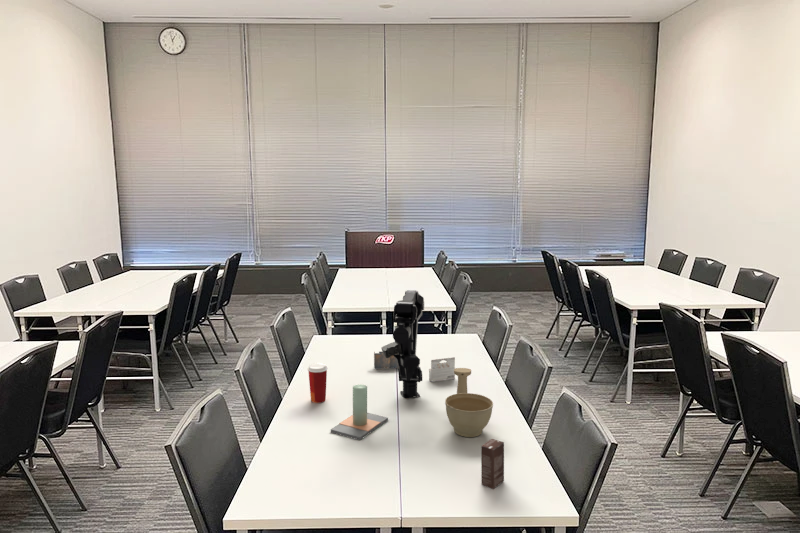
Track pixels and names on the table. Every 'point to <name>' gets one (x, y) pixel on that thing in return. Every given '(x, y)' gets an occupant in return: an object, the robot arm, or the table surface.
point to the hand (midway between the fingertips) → (404, 376)
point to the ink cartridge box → (442, 369)
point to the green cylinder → (359, 405)
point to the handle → (462, 379)
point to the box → (492, 463)
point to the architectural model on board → (384, 361)
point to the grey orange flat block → (359, 431)
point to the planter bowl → (468, 413)
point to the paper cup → (317, 382)
